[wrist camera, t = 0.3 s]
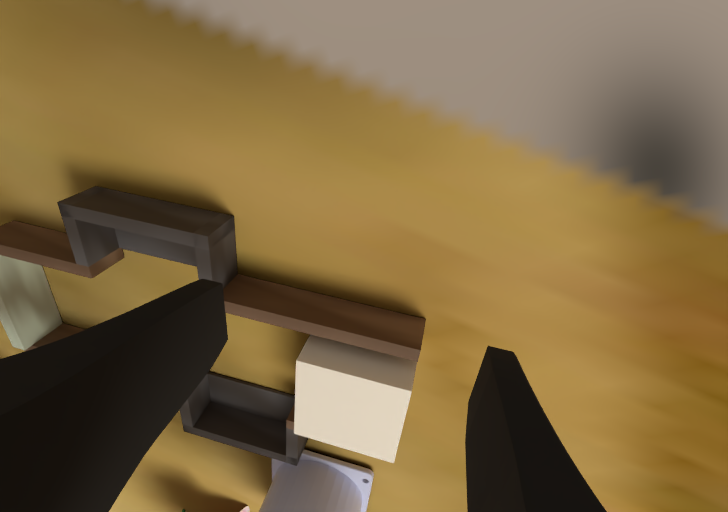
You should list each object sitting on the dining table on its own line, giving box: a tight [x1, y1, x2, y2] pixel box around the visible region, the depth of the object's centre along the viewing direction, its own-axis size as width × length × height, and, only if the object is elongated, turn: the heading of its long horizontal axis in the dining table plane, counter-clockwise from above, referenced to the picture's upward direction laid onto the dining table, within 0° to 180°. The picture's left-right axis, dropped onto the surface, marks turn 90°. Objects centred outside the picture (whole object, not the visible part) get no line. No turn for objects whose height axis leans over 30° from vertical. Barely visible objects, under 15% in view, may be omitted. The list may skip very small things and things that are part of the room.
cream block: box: [294, 334, 417, 463], centre depth 23 cm, size 6×6×4 cm
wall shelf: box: [0, 186, 426, 466], centre depth 25 cm, size 17×27×3 cm, turn 84°
